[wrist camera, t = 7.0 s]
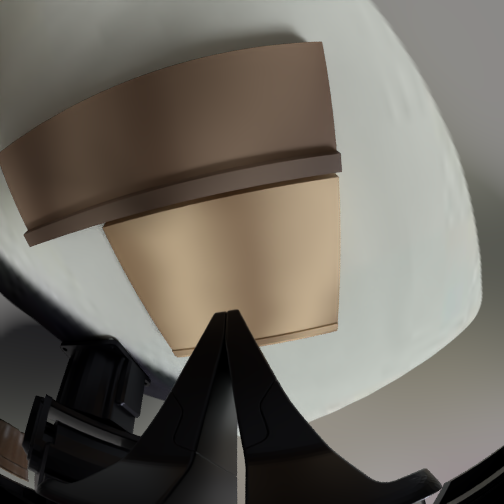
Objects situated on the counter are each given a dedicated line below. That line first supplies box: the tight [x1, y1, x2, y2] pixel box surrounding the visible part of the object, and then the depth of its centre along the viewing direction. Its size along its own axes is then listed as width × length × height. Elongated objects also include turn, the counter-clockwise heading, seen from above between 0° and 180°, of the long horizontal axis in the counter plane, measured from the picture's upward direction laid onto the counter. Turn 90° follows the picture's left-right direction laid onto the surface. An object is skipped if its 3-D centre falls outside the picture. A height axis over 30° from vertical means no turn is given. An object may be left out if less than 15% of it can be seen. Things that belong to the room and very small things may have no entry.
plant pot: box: [0, 420, 28, 481], centre depth 39 cm, size 16×16×16 cm
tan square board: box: [103, 173, 340, 357], centre depth 15 cm, size 11×11×2 cm
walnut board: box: [0, 42, 342, 247], centre depth 10 cm, size 16×6×2 cm, turn 100°
